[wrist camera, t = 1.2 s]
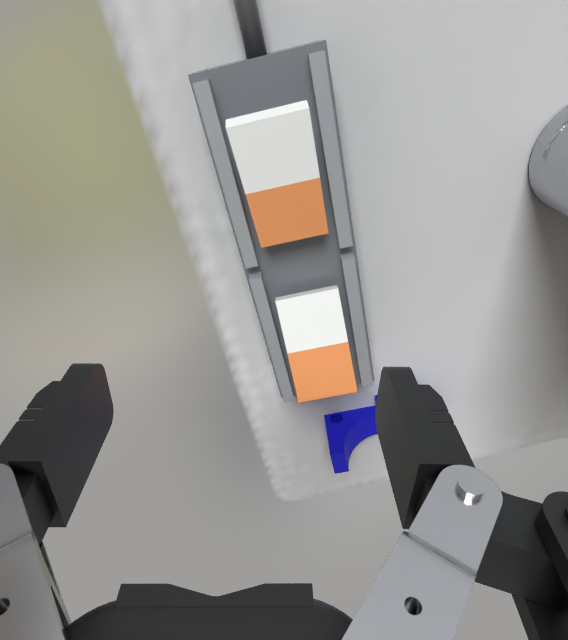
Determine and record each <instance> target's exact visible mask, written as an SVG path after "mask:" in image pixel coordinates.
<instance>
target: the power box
mask: <svg viewBox="0 0 568 640" xmlns="http://www.w3.org/2000/svg"><path fill="white" fill-rule="evenodd" d="M234 3H235V7H236V12H237V16H238V21H239V25H240V29H241V34H242V38H243V43H244V47H245V52H246V56H247V59H245V60H241V61H238V62H234V63H230V64H226V65H222V66H218V67H214V68H210V69H206V70H202V71H198V72H195V73H193V74H190V75H188V76H189V80H190V83H191V87H192V90H193V93H194V97H195V100H196V104H197V107H198V111H199V114H200V118H201V121H202V125H203V128H204V131H205V135H206V138H207V142H208V145H209V149H210V152H211V156H212V159H213V163H214V166H215V169H216V173H217V176H218V180H219V183H220V187H221V190H222V194H223V197H224V201H225V204H226V207H227V211H228V214H229V218H230V221H231V225H232V228H233V232H234V235H235V238H236V242H237V245H238V249H239V252H240V256H241V259H242V263H243V266H244V270H245V273H246V276H247V280H248V283H249V287H250V290H251V294H252V297H253V301H254V304H255V308H256V311H257V314H258V318H259V321H260V325H261V328H262V332H263V335H264V339H265V342H266V346H267V349H268V352H269V356H270V359H271V363H272V366H273V370H274V373H275V377H276V380H277V383H278V387H279V390H280V394H281V397H282V398H283V400H284V402H285V401H291V400H294V395H297V393H296V389H295V385H294V380H293V376H292V372H291V367H290V363H289V359H288V354H287V350H286V346H285V341H284V337H283V333H282V328H281V324H280V320H279V315H278V311H277V307H276V302H275V300H276V297H281V296H286V295H290V294H295V293H300V292H305V291H310V290H315V289H319V288H324V287H329V286H334V285H337V287H338V290H339V296H340V301H341V306H342V312H343V317H344V322H345V328H346V333H347V338H348V344H349V349H350V354H351V360H352V365H353V370H354V376H355V381H356V384H358V383H361V384H362V387H366V386H371V385H373V381H374V375H373V368H372V361H371V354H370V347H369V340H368V333H367V326H366V319H365V312H364V305H363V298H362V291H361V284H360V277H359V269H358V262H357V255H356V248H355V241H354V234H353V227H352V220H351V213H350V206H349V199H348V192H347V185H346V178H345V171H344V164H343V157H342V150H341V143H340V136H339V129H338V122H337V114H336V107H335V100H334V93H333V86H332V79H331V72H330V65H329V58H328V51H327V44H326V40H322V41H316V42H312V43H308V44H304V45H301V46H297V47H293V48H289V49H285V50H281V51H277V52H273V53H269V54H267V52H266V48H265V43H264V38H263V33H262V28H261V23H260V18H259V13H258V8H257V3H256V0H234ZM304 100H307V103H308V106H309V110H310V116H311V123H312V129H313V136H314V142H315V149H316V155H317V162H318V168H319V175H320V181H321V188H322V194H323V201H324V207H325V213H326V220H327V226H328V234H323V235H318V236H314V237H309V238H305V239H300V240H295V241H291V242H286V243H282V244H277V245H272V246H268V247H263V248H261V245H260V242H259V238H258V235H257V232H256V228H255V225H254V222H253V218H252V215H251V211H250V208H249V205H248V201H247V198H246V195H245V191H244V188H243V185H242V181H241V178H240V174H239V171H238V168H237V164H236V161H235V158H234V154H233V151H232V148H231V144H230V141H229V137H228V134H227V131H226V119H230V118H235V117H239V116H243V115H247V114H251V113H255V112H259V111H263V110H267V109H272V108H276V107H280V106H284V105H288V104H292V103H296V102H300V101H304Z"/></svg>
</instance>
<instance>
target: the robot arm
mask: <svg viewBox="0 0 568 640" xmlns="http://www.w3.org/2000/svg"><path fill="white" fill-rule="evenodd" d="M529 179H530V184H531V187H532V189H533V191H534V193H535V195H536V196H537V197H538V198H539V199H540V200H541V201H542V202H543V203H545V204H546V205H548V206H550V207H551V208H553V209H555V210H557V211H558V212H560V213H562V214H564V215H565V216H567V217H568V106H567V107H566V108H564V109H563V110H562V111H561V112H560V113H558V114H557V115H556V116H555V117H554V118H553V119H552V120H551V121H550V122H549V124H548V125H547V126H546V127H545V128H544V130H543V131H542V133H541V134H540V136H539V138H538V139H537V141H536V144H535V146H534V148H533V151H532V154H531V158H530V162H529ZM112 418H113V403H112V399H111V395H110V391H109V386H108V382H107V378H106V374H105V370H104V367H103V365H102V364H72V365H71V366H70V367H69V369H68V370H67V372H66V374H65V375H64V377H63V378H62V380H61V381H52V382H51V383H50V384H49V385H47V386H46V387H44V388H43V389H42V390H40V391H39V392H38V393H37V394H36V395H35V397H34V398H33V399H32V401H31V402H30V404H29V405H28V406H27V410H25V411H24V412H23V414H22V415H21V416H20V418H19V422H16V424H15V425H14V426H13V428H12V429H11V431H10V432H9V433H8V435H7V436H6V438H5V439H4V441H3V442H2V443H1V445H0V640H453V638H454V636H455V633H456V630H457V627H458V625H459V622H460V619H461V617H462V614H463V611H464V609H465V606H466V603H467V601H468V598H469V595H470V592H471V590H472V587H473V584H474V582H477V583H480V584H483V585H487V586H490V587H493V588H496V589H499V590H502V591H505V592H508V593H511V594H512V596H513V599H514V602H515V604H516V607H517V610H518V612H519V615H520V618H521V620H522V623H523V626H524V628H525V631H526V633H527V636H528V639H529V640H568V492H555V493H552V494H549V495H548V496H547V497H546V498H545V500H544V502H543V504H541V503H538V502H535V501H531V500H527V499H523V498H520V497H516V496H513V495H510V494H507V493H504V492H502V491H500V488H499V487H498V485H497V484H496V483H495V481H494V480H493V479H492V478H491V477H489V476H488V475H487V474H485V473H484V472H482V471H480V470H479V469H476V468H475V466H474V464H473V462H472V460H471V457H470V455H469V453H468V451H467V449H466V447H465V445H464V443H463V441H462V438H461V436H460V434H459V432H458V430H457V428H456V426H455V425H454V422H453V420H452V417H451V415H450V413H448V409H447V407H446V405H445V403H444V401H443V398H442V397H441V396H440V395H439V394H438V393H437V392H436V391H435V390H434V389H433V388H432V387H431V386H430V385H418V384H417V381H416V379H415V376H414V374H413V372H412V369H411V368H410V367H383V369H382V372H381V377H380V383H379V389H378V395H377V402H376V408H375V421H376V428H377V432H378V436H379V440H380V444H381V447H382V451H383V455H384V459H385V463H386V467H387V470H388V474H389V478H390V482H391V486H392V489H393V493H394V497H395V501H396V505H397V508H398V512H399V516H400V520H401V524H402V527H403V529H409V530H408V532H405V531H404V532H403V533H402V534H401V536H400V537H399V539H398V540H397V542H396V544H395V546H394V548H393V549H392V551H391V553H390V555H389V556H388V558H387V560H386V562H385V564H384V565H383V567H382V569H381V571H380V572H379V574H378V576H377V578H376V580H375V581H374V583H373V585H372V587H371V589H370V590H369V592H368V594H367V596H366V597H365V599H364V601H363V603H362V605H361V606H360V608H359V610H358V612H357V613H356V615H355V617H354V619H351V618H350V617H349V616H347V615H346V614H345V613H344V612H342V611H340V610H338V609H337V608H335V607H334V606H331V605H329V604H327V603H325V602H322V601H319V600H316V599H313V592H312V591H313V590H312V584H262V585H259V586H255V587H251V588H248V589H244V590H240V591H237V592H233V593H230V594H226V595H222V596H218V597H217V596H209V595H206V594H202V593H199V592H195V591H192V590H188V589H185V588H181V587H178V586H174V585H171V584H121V586H120V590H119V593H118V597H117V600H116V601H113V602H109V603H107V604H104V605H102V606H99V607H97V608H95V609H93V610H91V611H89V612H88V613H86V614H84V615H83V616H82V617H80V618H78V619H77V620H75V621H74V622H72V623H71V620H70V617H69V615H68V612H67V610H66V607H65V604H64V601H63V598H62V595H61V593H60V589H59V586H58V584H57V581H56V578H55V575H54V572H53V569H52V566H51V563H50V560H49V557H48V554H47V551H46V548H45V546H44V543H43V541H42V539H43V538H44V535H45V533H46V531H47V529H48V527H66V525H67V523H68V521H69V519H70V516H71V514H72V512H73V510H74V508H75V505H76V503H77V501H78V498H79V496H80V494H81V492H82V489H83V487H84V485H85V483H86V481H87V478H88V476H89V474H90V472H91V469H92V467H93V465H94V463H95V460H96V458H97V456H98V453H99V451H100V449H101V447H102V445H103V442H104V440H105V438H106V436H107V433H108V431H109V429H110V426H111V424H112Z"/></svg>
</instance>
